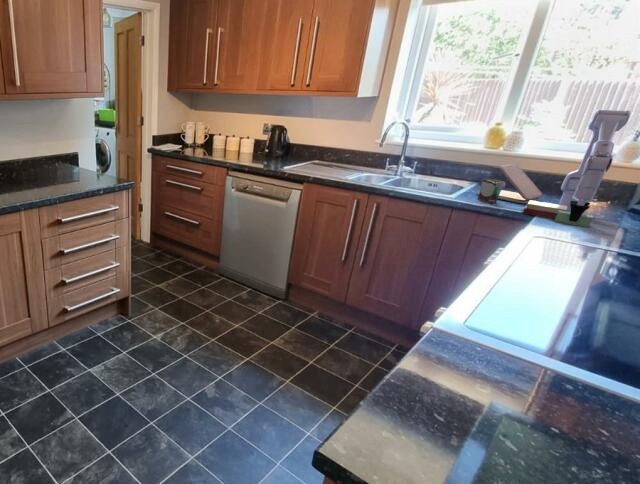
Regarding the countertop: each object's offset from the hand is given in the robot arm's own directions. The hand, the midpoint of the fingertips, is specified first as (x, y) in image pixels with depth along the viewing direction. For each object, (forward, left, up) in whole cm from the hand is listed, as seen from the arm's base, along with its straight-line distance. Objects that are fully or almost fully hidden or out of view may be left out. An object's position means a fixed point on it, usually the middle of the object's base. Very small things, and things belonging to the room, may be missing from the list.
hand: (572, 220), depth 173 cm
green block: (0, 0, -1) cm, 1 cm away
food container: (-20, -29, -2) cm, 35 cm away
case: (-38, -24, -2) cm, 45 cm away
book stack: (-9, -9, -1) cm, 13 cm away
